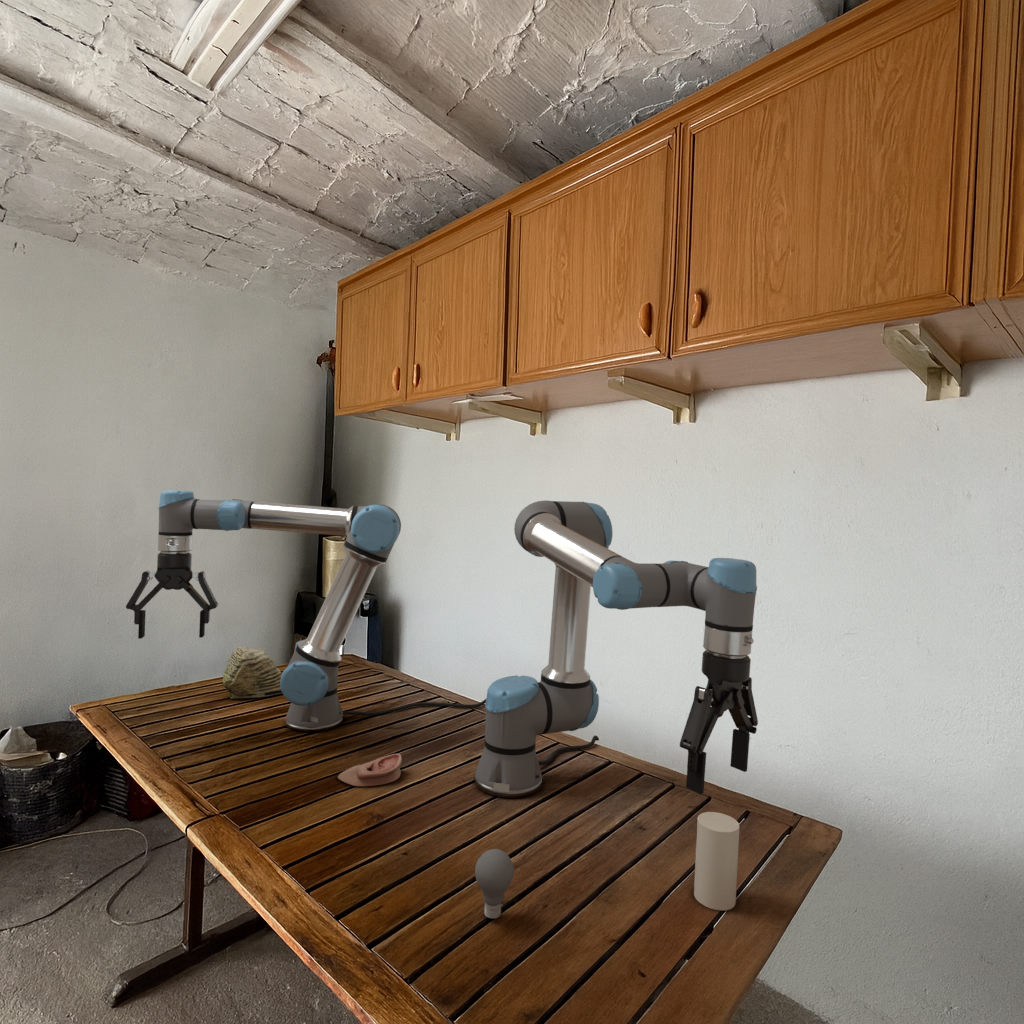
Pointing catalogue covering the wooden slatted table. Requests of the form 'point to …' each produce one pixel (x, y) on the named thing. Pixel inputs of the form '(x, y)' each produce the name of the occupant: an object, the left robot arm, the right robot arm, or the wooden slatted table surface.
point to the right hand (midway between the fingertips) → (717, 779)
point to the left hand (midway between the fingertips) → (172, 637)
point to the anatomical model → (373, 772)
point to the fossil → (251, 674)
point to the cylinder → (716, 860)
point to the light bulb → (494, 879)
